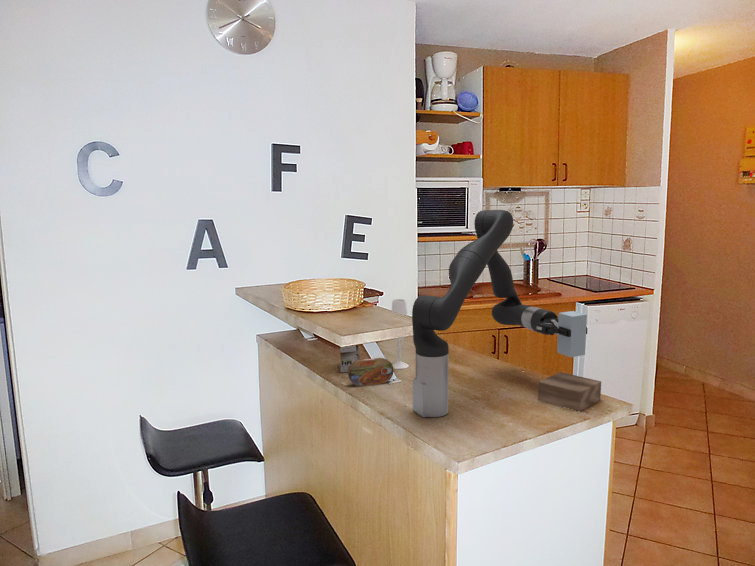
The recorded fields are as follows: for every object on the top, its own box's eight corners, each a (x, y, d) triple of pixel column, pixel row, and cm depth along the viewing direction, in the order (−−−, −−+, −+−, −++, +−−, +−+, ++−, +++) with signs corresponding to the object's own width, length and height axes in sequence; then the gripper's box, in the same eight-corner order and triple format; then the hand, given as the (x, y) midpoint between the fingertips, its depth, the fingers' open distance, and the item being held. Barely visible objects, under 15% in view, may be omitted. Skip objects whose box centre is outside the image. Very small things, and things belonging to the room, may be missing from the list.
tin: (349, 387, 183) (348, 362, 182) (347, 384, 186) (346, 359, 185) (394, 382, 187) (393, 358, 186) (391, 380, 190) (390, 355, 189)
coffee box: (358, 372, 198) (357, 327, 196) (340, 372, 198) (339, 327, 196) (360, 364, 207) (359, 321, 205) (342, 364, 207) (341, 321, 205)
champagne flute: (412, 365, 205) (412, 300, 202) (400, 369, 201) (399, 302, 197) (398, 362, 210) (398, 297, 206) (386, 366, 205) (385, 300, 201)
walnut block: (579, 412, 160) (580, 392, 159) (538, 401, 170) (538, 381, 169) (600, 400, 169) (601, 381, 168) (559, 390, 179) (560, 372, 178)
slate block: (570, 357, 164) (572, 316, 162) (557, 352, 169) (558, 312, 167) (584, 354, 166) (586, 314, 164) (571, 350, 171) (573, 310, 169)
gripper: (521, 310, 176) (559, 322, 160) (557, 306, 181) (598, 316, 166) (520, 334, 177) (558, 348, 162) (556, 329, 183) (596, 341, 167)
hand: (578, 332), depth 164 cm, fingers closed on slate block, 5 cm apart
